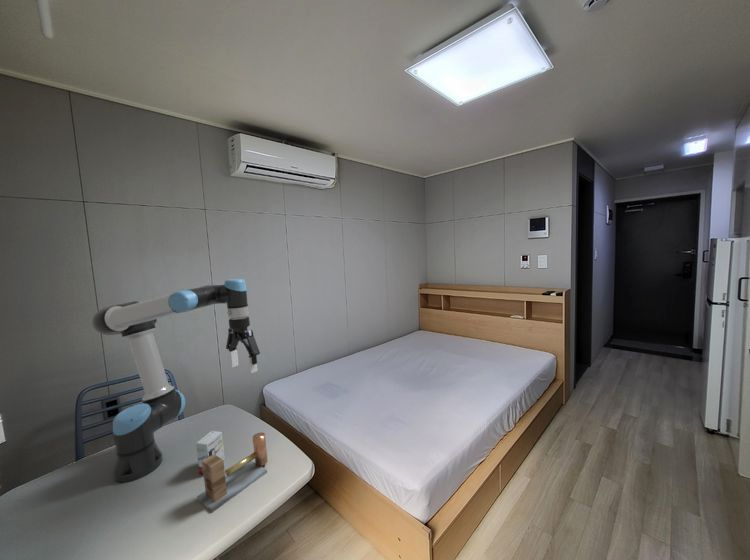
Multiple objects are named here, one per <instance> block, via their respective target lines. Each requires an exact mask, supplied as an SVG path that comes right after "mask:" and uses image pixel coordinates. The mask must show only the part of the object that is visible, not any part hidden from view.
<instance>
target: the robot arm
mask: <svg viewBox="0 0 750 560" xmlns="http://www.w3.org/2000/svg"><path fill="white" fill-rule="evenodd" d="M246 284H247V283H246V281H245V279H243V278H232V279H231V278H230V279H225V281H224V284H214V285H212V284H211V285H210V284H208V285H207V284H206V285H200V286H198V287H196V288H189V289H182V290H178V291H175V292H173V293H169V294H166V295H162V296H158V297H154V298H151V299H148V300H135V301H130V302H124V303H121V304H115V305H109V306H106V307H105V306H104V307H103V308H101V309H99V310H98V311H96V312H95V313H94V315H93V316H92V319H91V323H92V324H91V325H92V328H93V329H94V330H95V331H96V332H97V333H99V334H101V335H104V336H116V335H119V334H120V335H121V337H122V339H125V340H127V341H128V343H129V348H130V350H131V353H132V356H133V360H134V364H135V365H136V366H135V367H136V368H137V373H138V375H139V379H140V382H141V385H142V388H143V392H144V395H143V397H142V399H141V400H142V403H138V404H134V405H133V406H129V407H127V408H125V409H123V410H121V411H120V412H119V413H117V415H116V416H115V417H114V418H113V420H112V434H113V437H114V444H115V451H116V460H115V464H114V467H113V472H112V473H113V480H114V481H115V482H117V483H127V482H132V481H134V480H138V479H140V478H143V477H145V476H146V475H149V474H150V473H152V472H153V471H155V470H156V469H157V468H158V467H160V465H161V464H162V463H163V459H164V458H163V453H162V451H161V449H160V447H159V446H158V445H157V443H156V440H155V433H156V432H157V431H158V430H160V429H162V428H163V427H164V426H165V425H167V424H169V423H170V422H172V421H174V420H175V419H176V418H177V417H178V416H179V415H181V414H182V413H183V411H184V410H185V406H186V397H185V395H184V394H183V393H182V392H181V391H180V390H178V389H175V386H173V385H171V384H169V381H168V377H167V374H166V371H165V367H164V365H163V362H162V357H161V355H160V351H159V349H158V345H157V342H156V338H155V335H154V332H155V330H156V329H157V326H156V323H158V321H159V319H163V318H166V317H170V316H174V315H178V314H180V313H187V312H190V311H193V310H196V309H197V310H198V309H201V308H205V307H208V306H212V305H219V304H226V307H227V312H226V313H227V317H228V326H229V328H228V329H227V331H228V333H227V334H228V335H227V340H226V345H225V346H226V347H225V348H226V350H228V352H229V353H230V354H229V356H230V364H231V365H230V366H231V368H235V367H237V366H239V355H238V350H237V349H238V348H237V346H238V345H239V342H240V343H242V344H243V345H244V347H245V349H246V351H247V353H248V362H249V363H248V364H249V371H250V374H253V373H256V372H258V370H259V369H258V359H257V356H259V355H260V354H261V352H260V349H259V347H258V343H257V341H256V339H255V336H254V330H253V329H251V330H249V329H248V327H250V325H251V323H250V317H249V315H250V310H249V305H248V294H247V291H248V289H247V285H246Z"/></svg>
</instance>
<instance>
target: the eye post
mask: <svg viewBox="0 0 750 560" xmlns="http://www.w3.org/2000/svg"><path fill="white" fill-rule="evenodd" d="M202 465H203V473H202V474H203V480H204V482H203V483H204V489H205V490H204V491H203V492H202V493H201V492H200V493H199V494H198V495H197V496H196V500H198V501H199V502H200V503H201V504H202V505H203V506H205V507H206V508H207V510H209V511H210V512H211V513H213V512H215V511H216V510H217V509H219V508H220V507H222V506H223V505H224V504H226V503H227V502H228V501H230V500H232V499H233V498H234V497H235V496H237V495H239V494H240V493H241V492H242V491H244V490H245V489H247V488H248V487H249V486H251V485H252V484H254V483H255V482H256V481H257V480H259V479H260V478H261V477H264V476H265V475H266V474H267V473H268V470H267V468H264V467H263V466H256V465H255V461H253V460H251V461H250V462H248V463H247V464H245V465H244V466H242V467H241V468H239V469H238V470H236V471H235V472H233V473H232V474H230V475H229V476H226V474H225V464H224V461H223V460H222V459H221V458H219V457H218V456H216V455H215V454H213V455H212V456H210V457H208V458H206V459H205V460H203V461H202Z"/></svg>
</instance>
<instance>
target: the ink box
mask: <svg viewBox="0 0 750 560" xmlns="http://www.w3.org/2000/svg"><path fill="white" fill-rule="evenodd" d="M224 446H225V445H224V437H223V432H222V431H216V430H211V431H210V432H208V433H207V434H206V435H204V436H203V437H202V438H201V439H199V440H197V442H196V444H195V447H196V454H197V465H198V473H199V474H203V465H202V461H203V460H205V459H206V458H208V457H210V456H212V455H213V454H215V455H216V456H218V457H219V458H221V459H222V460H223V462H224V461H225V460H226V457H225V455H226V454H225V449H224V448H225V447H224Z"/></svg>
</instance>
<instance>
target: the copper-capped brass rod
mask: <svg viewBox="0 0 750 560" xmlns="http://www.w3.org/2000/svg"><path fill="white" fill-rule="evenodd" d="M252 444H253V452H252V453H251V454H249V455H247V456H246V457H244V458H243V459H241V460H239V461H238V462H237V463H235V464H234V465H231V466H230V467H229V468H227V469H226V470H225V469H224V471H225V477H227V476H229V475H230V474H232V473H233V472H235V471H236V470H238V469H239V468H241V467H242V466H244V465H245V464H247V463H248V462H250V461H253V460H254V462H255V465H256V466H261V467H263V466H264V465H266V464H267V463H268V462H269V461H268V451H267V450H268V449H267V440H266V433H265V432H257V433H255V434H254V435H253V436H252Z"/></svg>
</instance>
